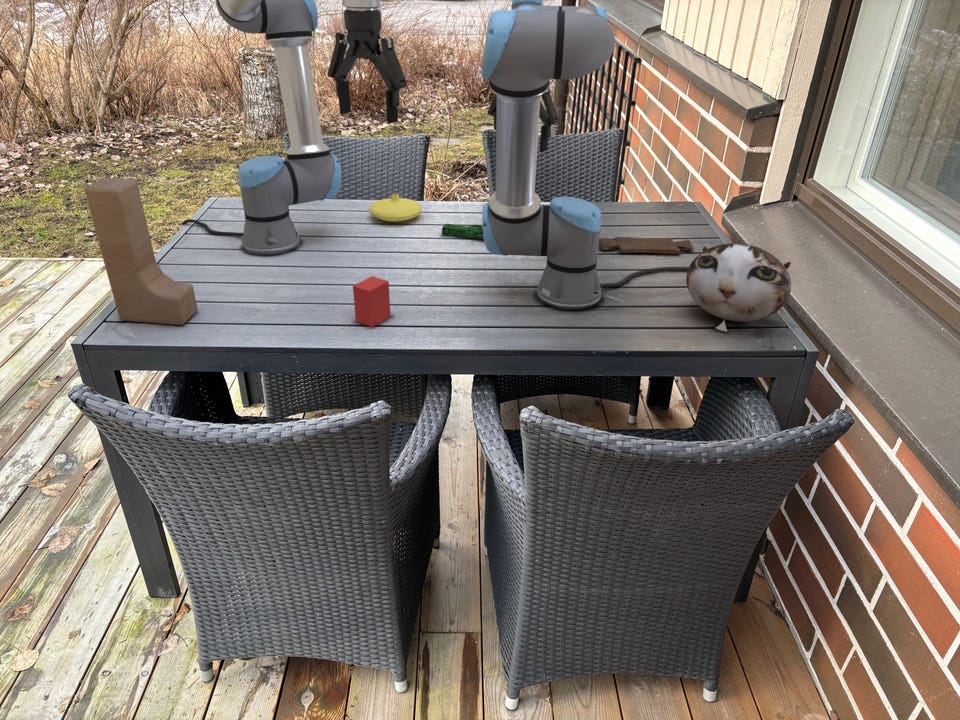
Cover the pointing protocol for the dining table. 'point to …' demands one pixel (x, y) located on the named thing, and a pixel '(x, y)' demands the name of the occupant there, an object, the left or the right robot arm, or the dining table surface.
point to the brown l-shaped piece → (134, 257)
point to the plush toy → (738, 282)
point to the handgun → (464, 231)
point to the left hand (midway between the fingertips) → (368, 117)
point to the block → (371, 301)
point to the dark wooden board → (645, 245)
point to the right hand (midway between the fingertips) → (521, 147)
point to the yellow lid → (395, 209)
